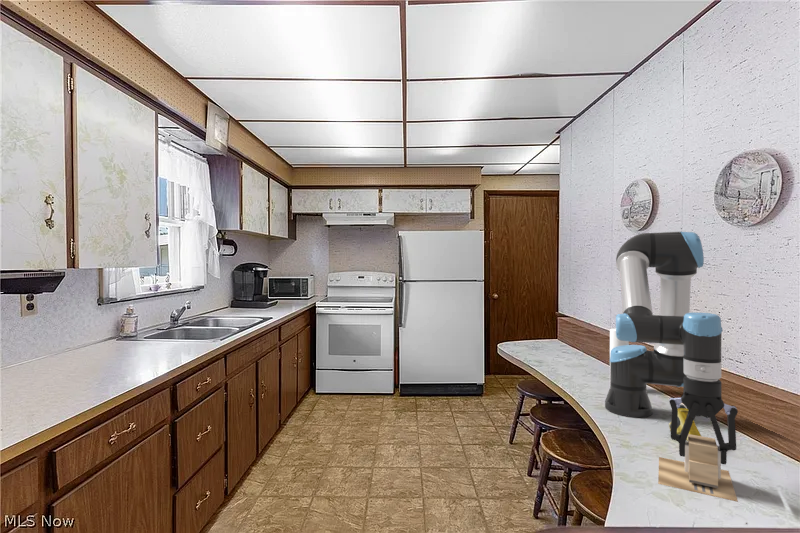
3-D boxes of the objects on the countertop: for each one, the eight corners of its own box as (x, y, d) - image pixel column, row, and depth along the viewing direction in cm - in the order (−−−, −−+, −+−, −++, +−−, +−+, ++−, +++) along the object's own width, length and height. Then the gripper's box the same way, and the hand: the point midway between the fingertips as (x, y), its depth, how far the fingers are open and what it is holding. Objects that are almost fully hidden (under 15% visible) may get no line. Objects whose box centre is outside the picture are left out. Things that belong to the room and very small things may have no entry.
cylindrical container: (631, 389, 181) (631, 330, 180) (623, 392, 176) (623, 331, 176) (615, 385, 186) (614, 328, 186) (606, 388, 182) (606, 329, 182)
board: (658, 462, 116) (658, 456, 116) (728, 476, 108) (728, 470, 108) (658, 489, 102) (658, 483, 102) (737, 508, 94) (737, 501, 94)
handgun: (676, 426, 134) (685, 400, 128) (701, 484, 119) (712, 458, 112) (667, 426, 135) (675, 400, 129) (691, 483, 119) (702, 457, 113)
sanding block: (687, 468, 108) (687, 432, 108) (714, 473, 105) (714, 437, 105) (689, 482, 101) (689, 444, 101) (718, 488, 99) (718, 449, 99)
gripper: (657, 375, 105) (657, 469, 105) (754, 387, 95) (754, 490, 96) (657, 369, 111) (657, 457, 112) (748, 378, 102) (748, 475, 102)
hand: (702, 472), depth 104 cm, fingers closed on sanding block, 5 cm apart
